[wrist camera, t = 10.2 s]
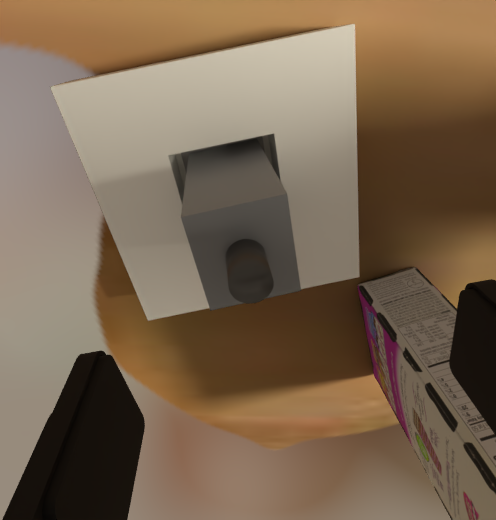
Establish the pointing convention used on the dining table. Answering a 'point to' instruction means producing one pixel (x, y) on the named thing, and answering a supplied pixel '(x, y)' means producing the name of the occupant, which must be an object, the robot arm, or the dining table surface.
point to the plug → (239, 225)
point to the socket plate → (216, 135)
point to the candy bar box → (430, 390)
